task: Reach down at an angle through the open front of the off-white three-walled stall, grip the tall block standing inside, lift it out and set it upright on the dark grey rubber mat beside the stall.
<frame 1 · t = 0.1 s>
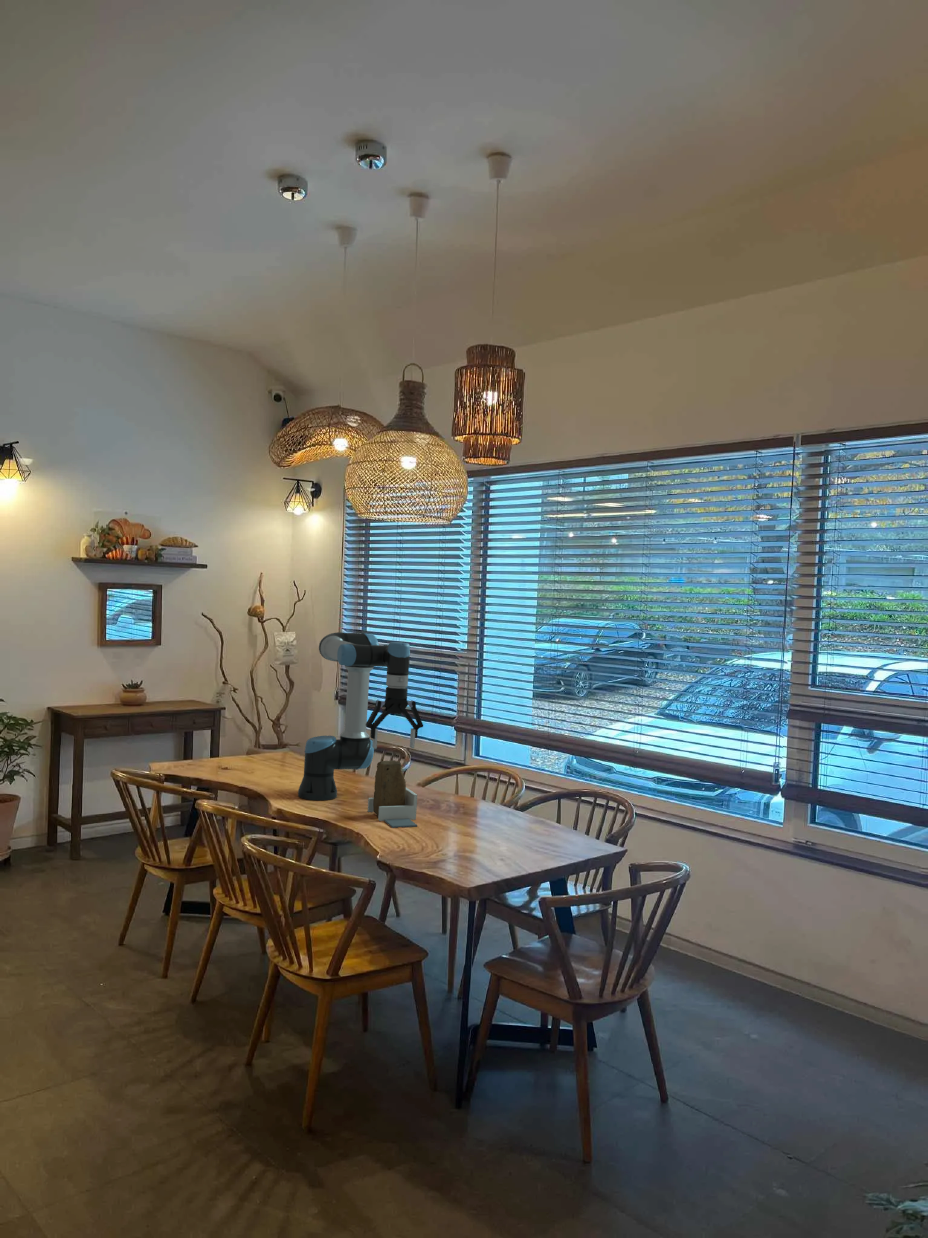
hand: (393, 747, 307), 28 cm above the table, tool pointing down, fingers open, 13 cm apart
mat: (400, 824, 314), on the table
stall: (389, 815, 325), on the table
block: (388, 816, 325), on the table
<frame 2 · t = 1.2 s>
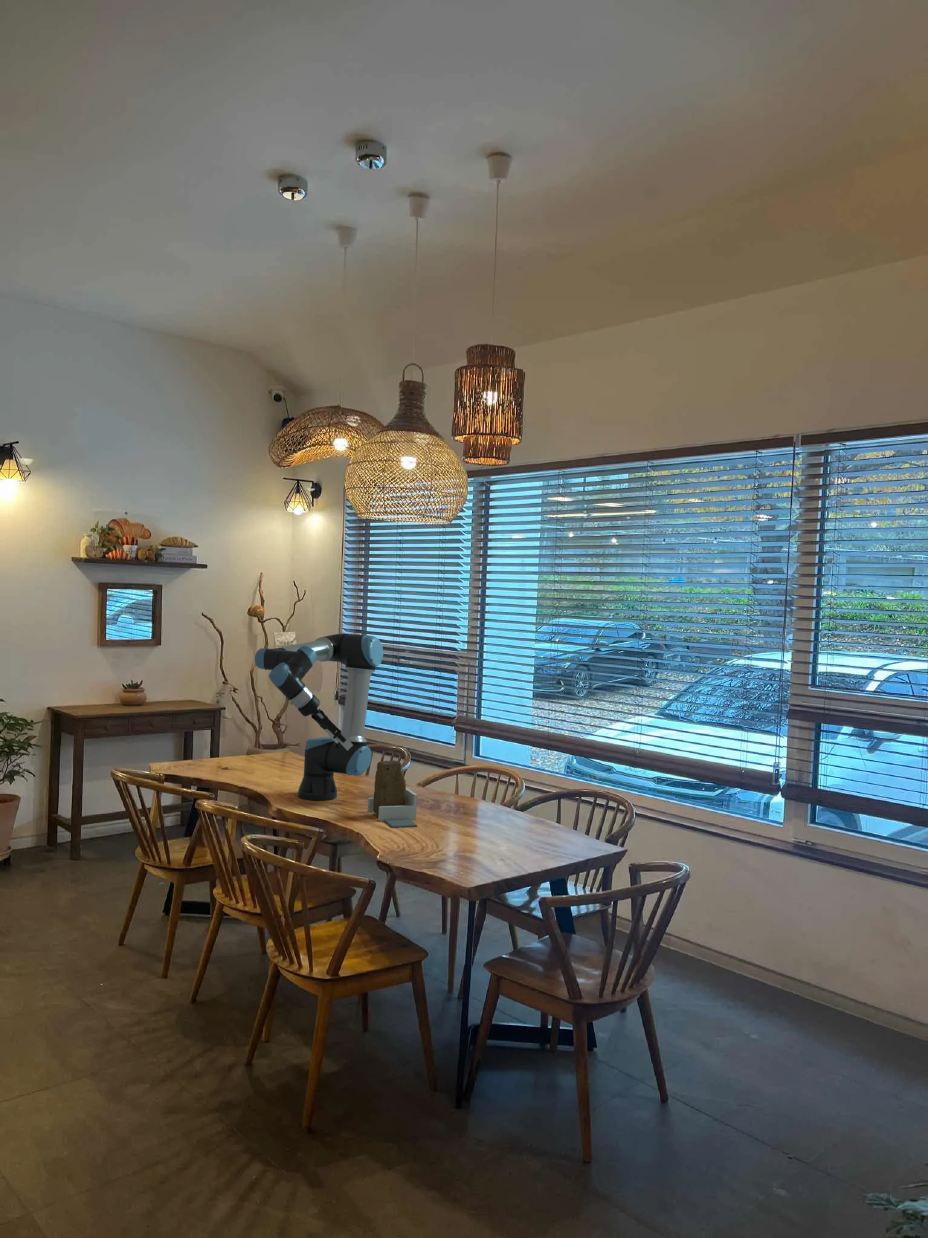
hand: (344, 744, 312), 27 cm above the table, tool tilted 45°, fingers open, 13 cm apart
nothing on the table moved.
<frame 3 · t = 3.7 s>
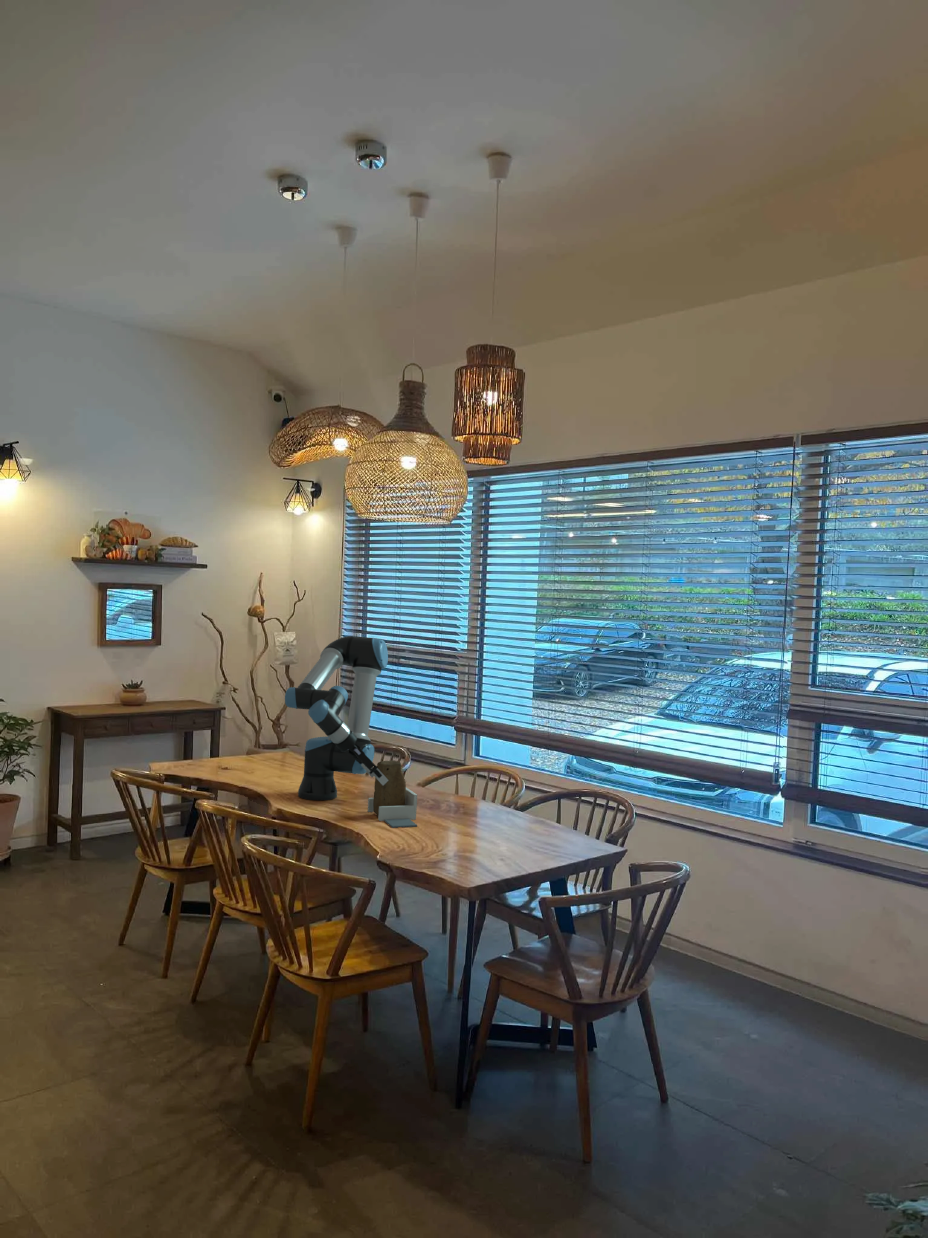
hand: (380, 779, 321), 14 cm above the table, tool tilted 45°, fingers open, 13 cm apart
nothing on the table moved.
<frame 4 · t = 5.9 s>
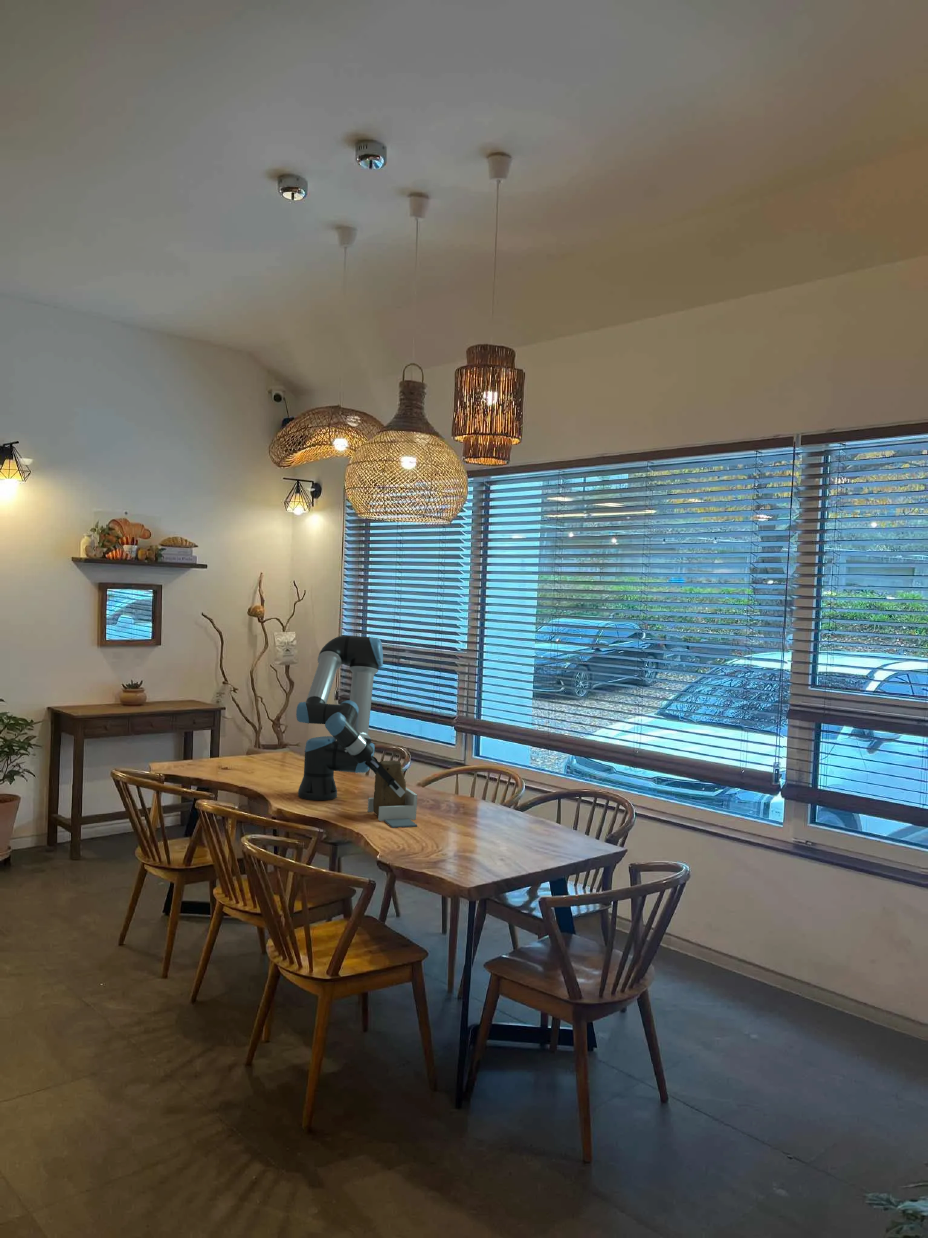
hand: (398, 791, 326), 9 cm above the table, tool tilted 45°, fingers closed on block, 8 cm apart
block: (388, 816, 325), on the table, touching gripper
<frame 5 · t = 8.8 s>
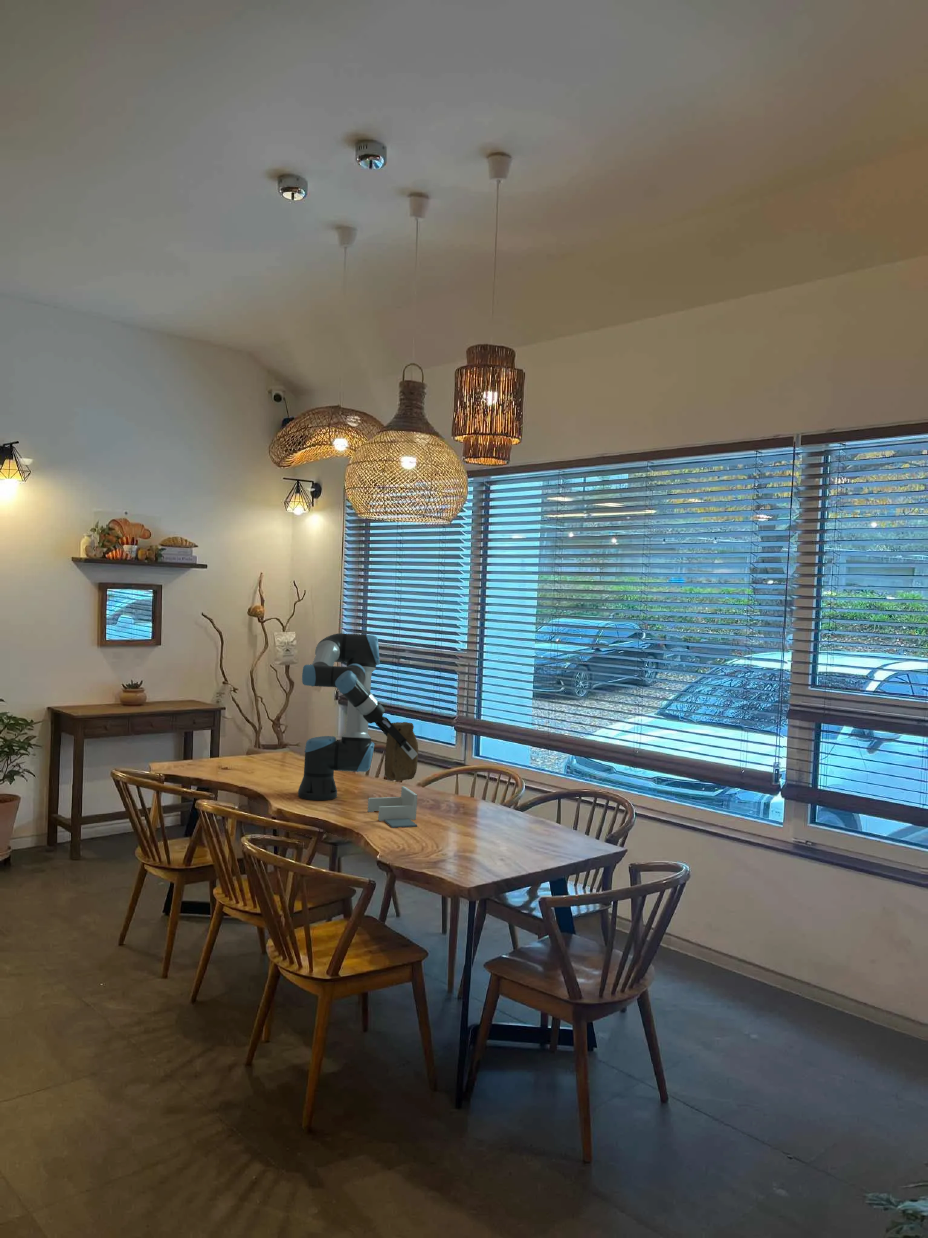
hand: (410, 754, 316), 24 cm above the table, tool tilted 45°, fingers closed on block, 8 cm apart
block: (400, 779, 314), point 16 cm above the table, touching gripper
when the fingers open (11 cm above the table, at t = 11.9 s): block drops 1 cm, resting on mat.
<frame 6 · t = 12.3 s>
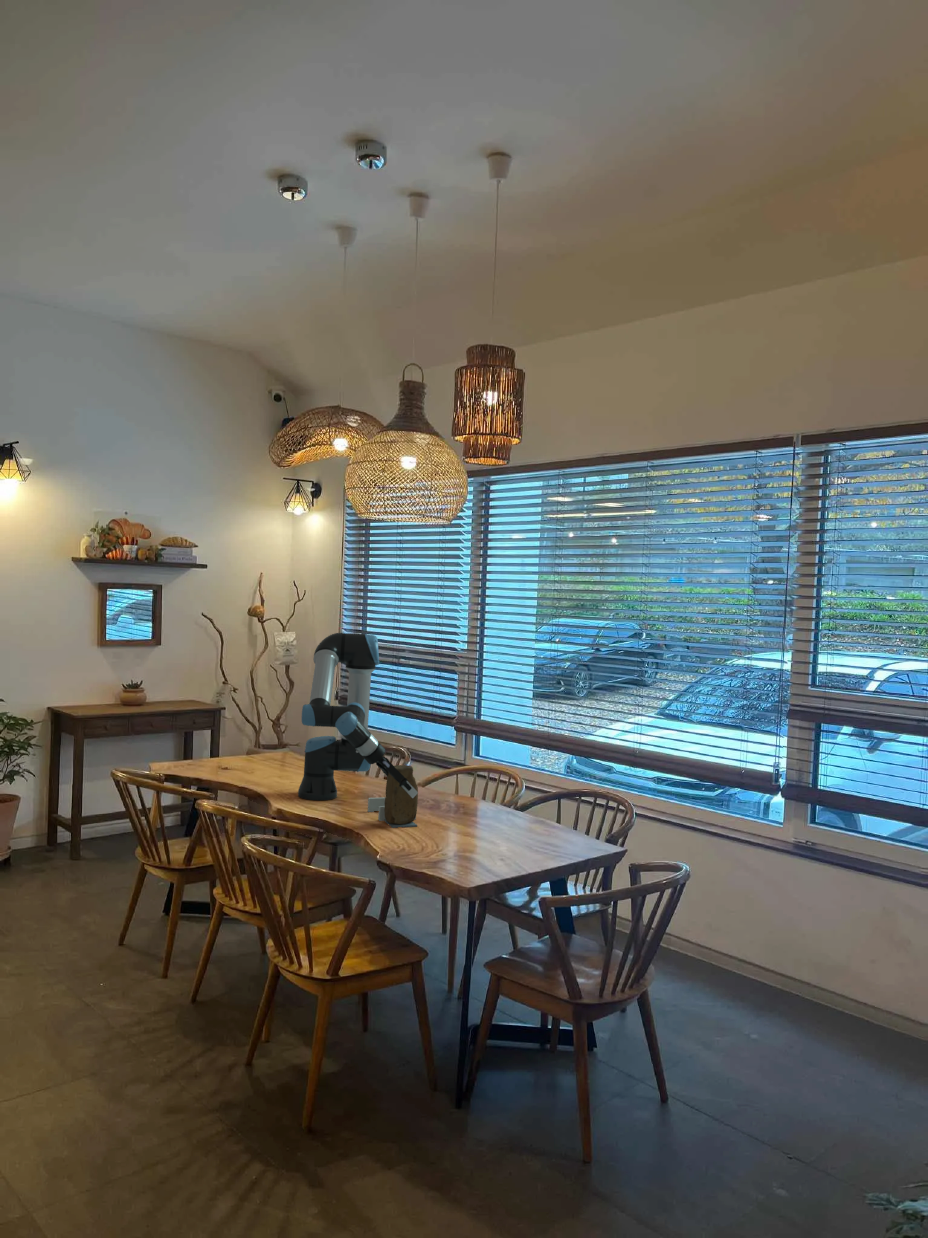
hand: (408, 791, 315), 12 cm above the table, tool tilted 45°, fingers open, 13 cm apart
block: (400, 822, 314), resting on mat
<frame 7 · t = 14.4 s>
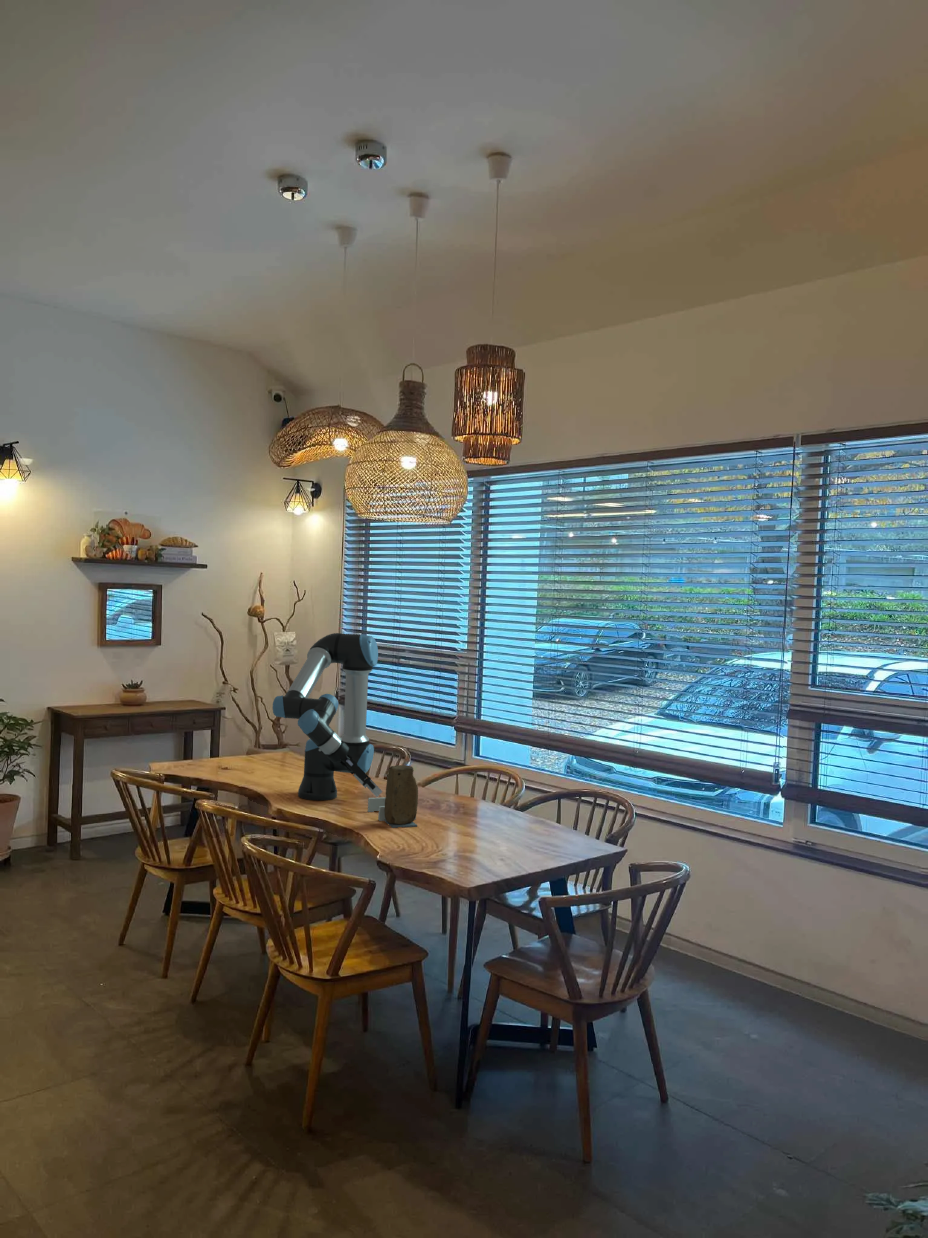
hand: (373, 789, 310), 12 cm above the table, tool tilted 45°, fingers open, 13 cm apart
nothing on the table moved.
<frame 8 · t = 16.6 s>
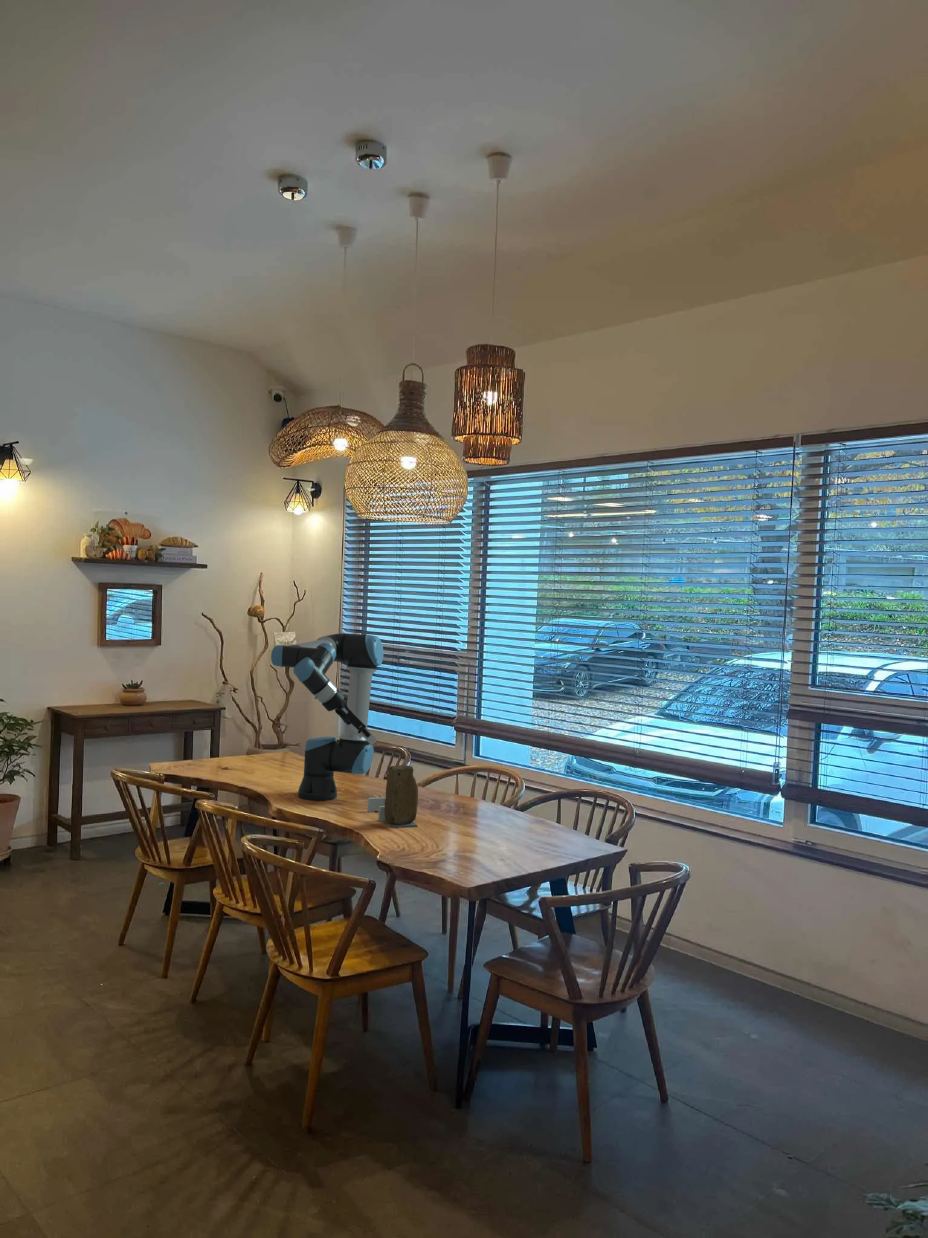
hand: (368, 739, 311), 30 cm above the table, tool tilted 45°, fingers open, 13 cm apart
nothing on the table moved.
at the end: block inside the target area on the mat (0.2 cm from its centre), point 0.4 cm above the mat's base; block tilted 0°; the gripper is holding nothing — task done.
